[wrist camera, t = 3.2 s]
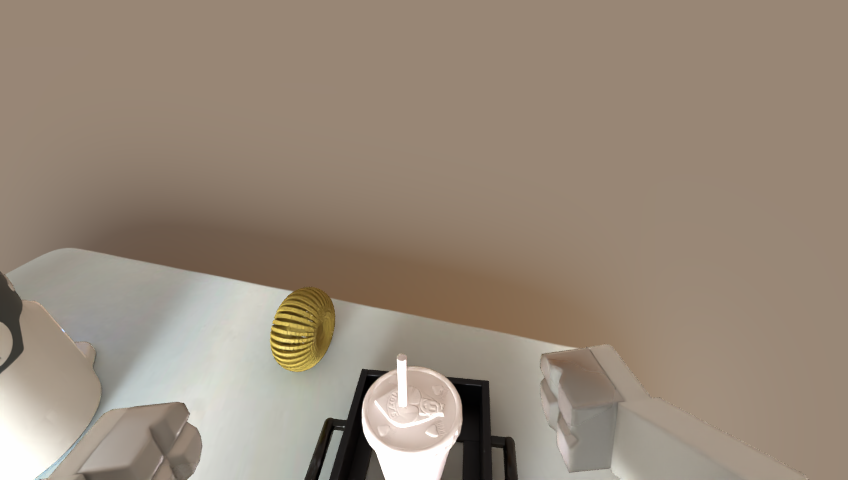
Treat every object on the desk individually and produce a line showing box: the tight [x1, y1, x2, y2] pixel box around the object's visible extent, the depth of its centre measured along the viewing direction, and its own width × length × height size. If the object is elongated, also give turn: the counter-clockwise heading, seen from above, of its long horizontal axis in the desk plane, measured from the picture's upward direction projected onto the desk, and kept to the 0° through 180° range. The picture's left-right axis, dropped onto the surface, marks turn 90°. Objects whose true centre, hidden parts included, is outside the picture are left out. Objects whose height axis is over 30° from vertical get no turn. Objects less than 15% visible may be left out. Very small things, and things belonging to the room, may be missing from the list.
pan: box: [305, 369, 518, 480], centre depth 29 cm, size 15×15×3 cm
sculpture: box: [270, 287, 335, 372], centre depth 38 cm, size 8×4×8 cm, turn 166°
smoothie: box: [362, 354, 463, 480], centre depth 26 cm, size 6×6×14 cm
